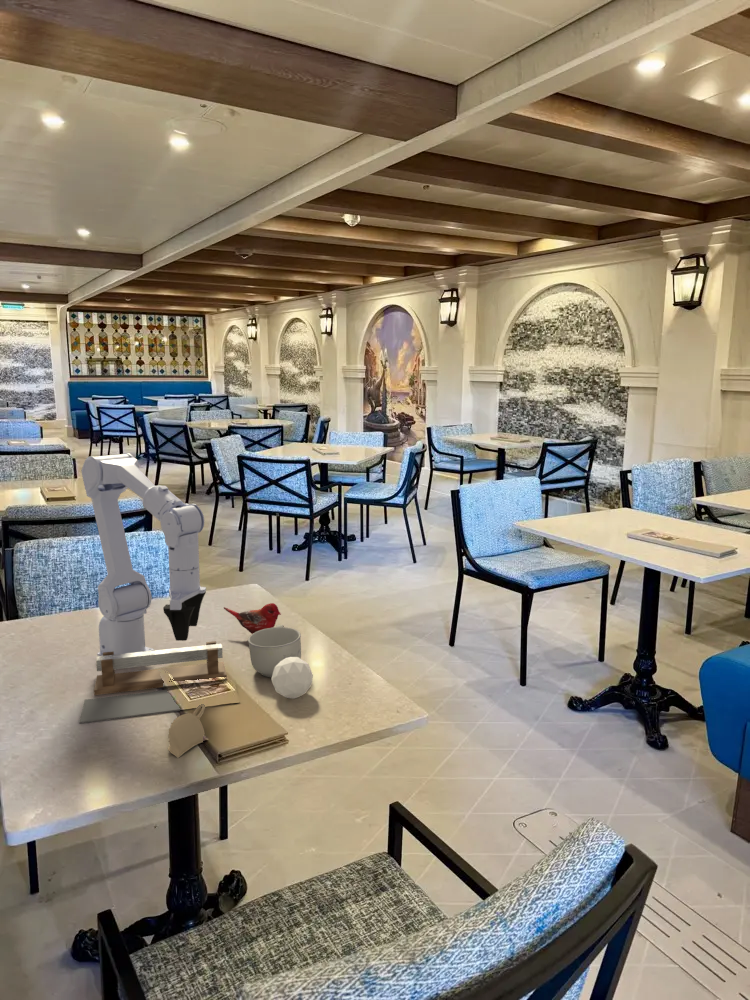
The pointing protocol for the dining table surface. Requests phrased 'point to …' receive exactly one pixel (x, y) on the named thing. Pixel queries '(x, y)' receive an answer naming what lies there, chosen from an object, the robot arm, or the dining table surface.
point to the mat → (127, 706)
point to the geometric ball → (292, 677)
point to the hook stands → (155, 674)
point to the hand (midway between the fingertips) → (186, 632)
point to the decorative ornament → (186, 732)
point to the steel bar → (159, 657)
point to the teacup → (273, 647)
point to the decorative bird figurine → (257, 618)
